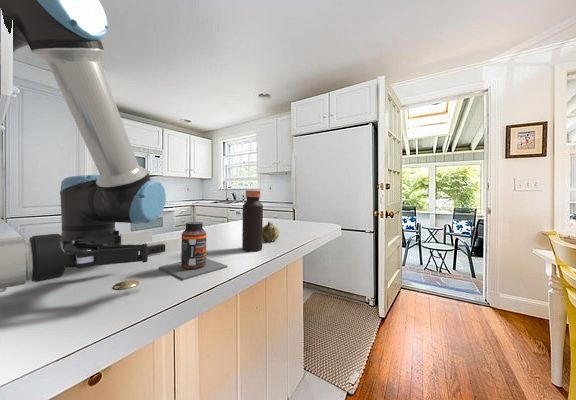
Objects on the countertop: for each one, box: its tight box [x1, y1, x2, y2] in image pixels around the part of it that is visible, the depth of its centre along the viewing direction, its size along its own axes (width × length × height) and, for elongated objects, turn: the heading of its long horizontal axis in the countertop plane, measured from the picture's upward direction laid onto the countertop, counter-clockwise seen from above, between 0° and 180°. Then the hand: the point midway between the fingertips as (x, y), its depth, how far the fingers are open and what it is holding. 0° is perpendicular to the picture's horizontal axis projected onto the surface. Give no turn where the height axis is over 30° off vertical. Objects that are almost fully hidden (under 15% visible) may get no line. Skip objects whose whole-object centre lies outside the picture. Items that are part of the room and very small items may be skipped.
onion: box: [262, 221, 280, 242], centre depth 95 cm, size 8×8×8 cm
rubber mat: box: [158, 257, 228, 281], centre depth 61 cm, size 12×12×1 cm
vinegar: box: [241, 190, 264, 252], centre depth 81 cm, size 7×7×20 cm
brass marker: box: [112, 279, 140, 291], centre depth 50 cm, size 4×4×1 cm
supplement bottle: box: [180, 221, 207, 269], centre depth 61 cm, size 6×6×11 cm
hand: (164, 239), depth 55 cm, fingers open, 13 cm apart
